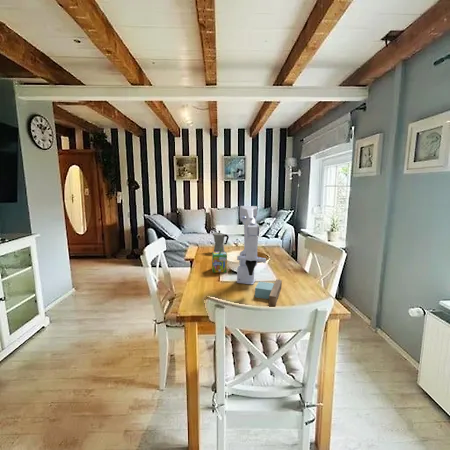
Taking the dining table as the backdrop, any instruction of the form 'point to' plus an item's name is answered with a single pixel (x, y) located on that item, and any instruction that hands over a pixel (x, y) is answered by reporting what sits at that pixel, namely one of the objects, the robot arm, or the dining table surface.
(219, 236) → the coffeepot
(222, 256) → the chalk box
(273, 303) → the board
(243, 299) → the dining table surface
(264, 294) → the block
